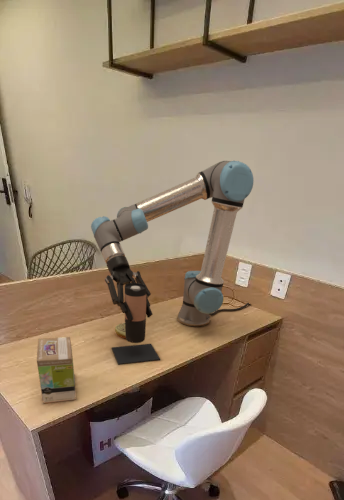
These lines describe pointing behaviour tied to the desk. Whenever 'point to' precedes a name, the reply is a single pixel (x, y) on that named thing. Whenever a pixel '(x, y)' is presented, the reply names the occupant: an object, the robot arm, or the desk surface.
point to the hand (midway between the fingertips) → (140, 318)
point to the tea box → (56, 369)
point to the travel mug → (136, 312)
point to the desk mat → (135, 354)
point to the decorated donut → (120, 330)
